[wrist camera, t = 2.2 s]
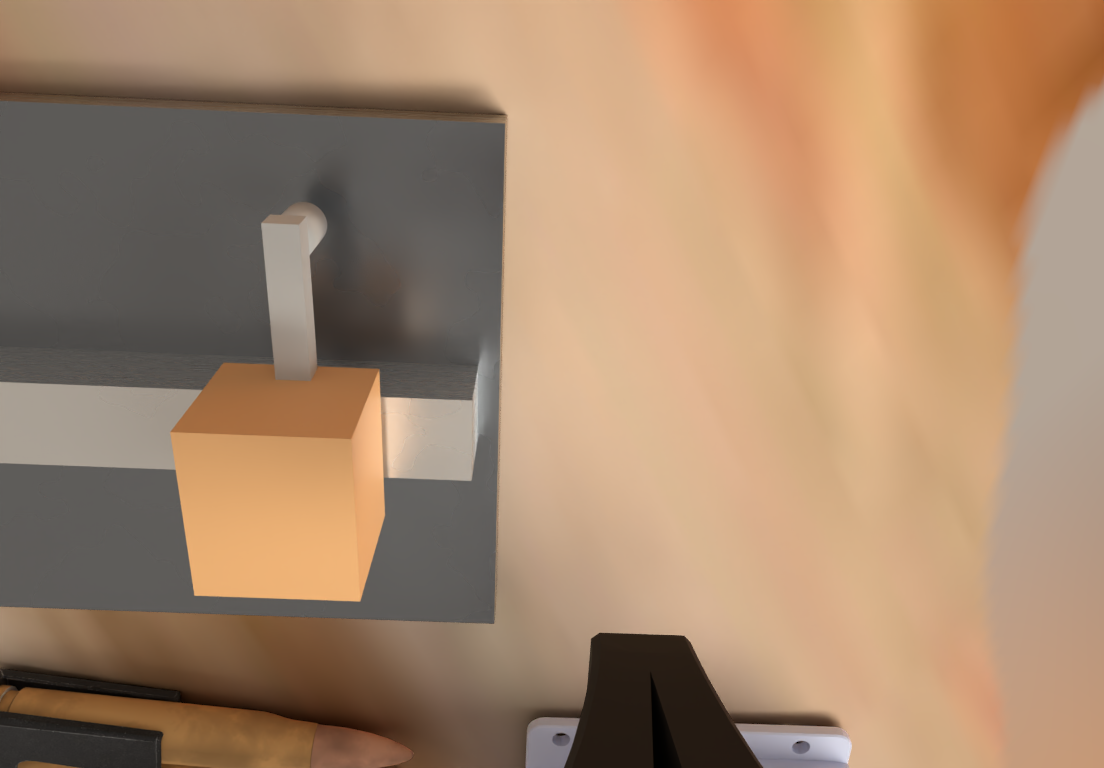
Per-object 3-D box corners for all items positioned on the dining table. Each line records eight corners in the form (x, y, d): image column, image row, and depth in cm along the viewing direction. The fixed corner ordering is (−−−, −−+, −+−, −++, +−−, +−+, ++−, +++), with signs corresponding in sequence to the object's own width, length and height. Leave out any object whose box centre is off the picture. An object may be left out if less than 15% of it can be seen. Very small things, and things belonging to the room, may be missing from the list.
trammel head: (382, 202, 19) (341, 266, 15) (392, 489, 22) (360, 601, 18) (223, 195, 19) (144, 259, 15) (254, 483, 22) (194, 595, 18)
